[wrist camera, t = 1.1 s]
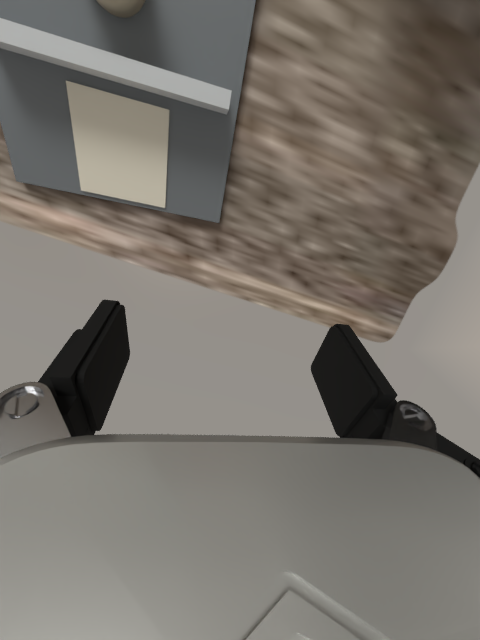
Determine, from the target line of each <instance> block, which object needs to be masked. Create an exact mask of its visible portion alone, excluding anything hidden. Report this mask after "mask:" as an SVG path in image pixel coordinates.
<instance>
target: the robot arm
mask: <svg viewBox="0 0 480 640" xmlns="http://www.w3.org/2000/svg"><path fill="white" fill-rule="evenodd" d="M126 324H127V323H126V315H125V307H124V306H123V305H120V303H119V302H118V301H111V300H103V301H102V302H101V303H100V304H99V306H98V307H97V309H96V310H95V312H94V313H93V314H92V316H91V317H90V319H89V320H88V322H87V323H86V325H85V326H84V327H83V329H82V330H81V329H78V330H76V331H75V332H74V333H73V335H72V336H71V337H70V339H69V340H68V341H67V343H66V344H65V345H64V347H63V348H62V350H61V351H60V352H59V354H58V355H57V357H56V358H55V359H54V361H53V362H52V364H51V365H50V366H49V368H48V369H47V371H46V372H45V373H44V374H43V376H42V377H41V378H40V380H39V381H38V382H27V383H22V384H18V385H15V386H13V387H10V388H8V389H6V390H5V391H3V392H1V393H0V640H480V460H479V459H478V458H476V457H475V456H473V455H471V454H470V453H468V452H467V451H465V450H464V449H462V448H460V447H459V446H457V445H456V444H454V443H453V442H451V441H449V440H448V439H446V438H444V437H443V436H441V435H440V434H438V433H437V432H436V424H435V422H434V420H433V419H432V417H431V416H430V415H429V414H428V413H427V412H426V411H425V410H424V409H423V408H421V407H420V406H418V405H417V404H414V403H412V402H409V401H404V400H403V401H399V402H397V401H396V400H395V398H396V396H397V394H396V392H395V391H394V389H393V388H392V386H391V385H390V384H389V382H388V381H387V379H386V378H385V376H384V375H383V373H382V372H381V371H380V369H379V368H378V366H377V365H376V364H375V362H374V361H373V359H372V358H371V356H370V355H369V353H368V352H367V351H366V349H365V348H364V346H363V345H362V343H361V342H360V340H359V339H358V337H357V336H356V335H355V333H354V332H353V330H352V329H351V327H350V326H349V325H343V324H335V325H334V326H332V327H331V328H330V329H329V331H328V333H327V335H326V337H325V339H324V341H323V343H322V345H321V347H320V349H319V351H318V353H317V355H316V357H315V359H314V361H313V363H312V365H311V372H312V374H313V377H314V380H315V382H316V385H317V387H318V390H319V392H320V395H321V397H322V400H323V402H324V405H325V407H326V410H327V412H328V415H329V417H330V420H331V422H332V425H333V427H334V430H335V432H336V434H337V435H338V436H340V438H326V437H325V438H324V437H285V436H234V435H170V434H107V435H94V433H95V431H100V430H101V428H102V426H103V423H104V420H105V418H106V416H107V413H108V411H109V408H110V406H111V403H112V400H113V398H114V396H115V393H116V390H117V388H118V385H119V383H120V380H121V378H122V375H123V373H124V370H125V368H126V365H127V363H128V360H129V356H130V349H129V341H128V332H127V325H126Z"/></svg>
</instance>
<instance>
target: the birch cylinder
mask: <svg viewBox="0 0 480 640" xmlns="http://www.w3.org/2000/svg"><path fill="white" fill-rule="evenodd" d="M96 1H97V2H98V3H99V4H100V5H101V6H102V7H103V8H104V9H105V10H106V11H107V12H109V13H111V14H112V15H114V16H117V17H121V18H128V17H131V16H133V15H135V14H136V13H138V12H139V11H140V9H141V8H142V6H143V4H144V2H145V0H96Z"/></svg>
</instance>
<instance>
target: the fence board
mask: <svg viewBox="0 0 480 640" xmlns="http://www.w3.org/2000/svg"><path fill="white" fill-rule="evenodd" d="M255 2H256V0H145V2H144V4H143V6H142V8H141V9H140V11H139V12H138V13H136V14H135V15H133V16H131V17H128V18H121V17H117V16H114V15H112V14H111V13H109V12H107V11H106V10H105V9H104V8H103V7H102V6H101V5H100V4H99V3H98V2H97V1H96V0H0V122H1V126H2V129H3V133H4V137H5V141H6V144H7V148H8V152H9V155H10V159H11V163H12V166H13V170H14V174H15V178H16V181H18V182H23V183H28V184H33V185H37V186H42V187H47V188H52V189H57V190H62V191H66V192H71V193H76V194H81V195H86V196H91V197H96V198H100V199H105V200H110V201H115V202H120V203H125V204H130V205H134V206H139V207H144V208H149V209H154V210H159V211H163V212H168V213H173V214H178V215H183V216H188V217H193V218H197V219H202V220H207V221H212V222H217V223H219V220H220V214H221V208H222V202H223V196H224V190H225V184H226V178H227V172H228V166H229V160H230V154H231V147H232V141H233V135H234V129H235V123H236V117H237V111H238V105H239V99H240V93H241V87H242V81H243V75H244V68H245V62H246V56H247V50H248V44H249V38H250V32H251V26H252V20H253V14H254V8H255Z"/></svg>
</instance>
